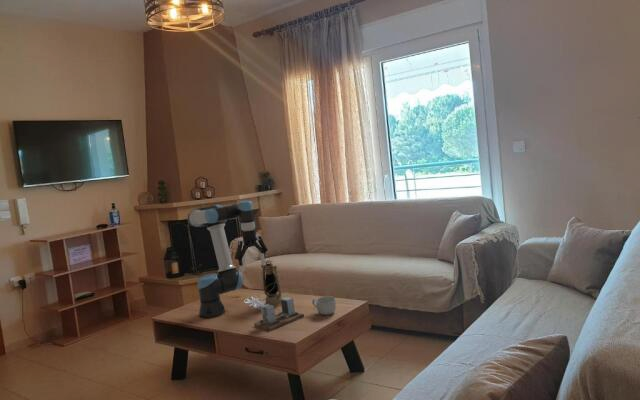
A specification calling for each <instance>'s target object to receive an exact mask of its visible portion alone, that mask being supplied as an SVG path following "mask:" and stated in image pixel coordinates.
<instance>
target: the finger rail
mask: <svg viewBox="0 0 640 400" xmlns="http://www.w3.org/2000/svg"><path fill="white" fill-rule="evenodd" d="M265 304H266V303H265ZM265 304H264V305H261V306H260V309H261V316H262V319H261V320H259V321H257V322H255V323H253V324H254V326H255V327H256V328H259V329H263V330H266V331H268V332H272V331H273V330H276V329H279V328H280V327H284V326H286V325H288V324H291V323H294V322H295V321H297V320H300V319H302V318H305V314H304V313H301V312H297V311H295V313H294V314H291V315H289V316H286V315H283V313H282V311H280V312H279V313H277V314H276V313H275V308H274V306H272V305H268V304H266V305H265Z"/></svg>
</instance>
